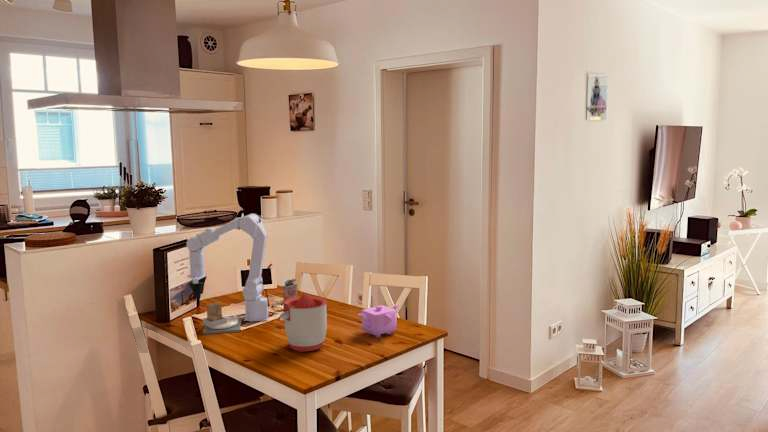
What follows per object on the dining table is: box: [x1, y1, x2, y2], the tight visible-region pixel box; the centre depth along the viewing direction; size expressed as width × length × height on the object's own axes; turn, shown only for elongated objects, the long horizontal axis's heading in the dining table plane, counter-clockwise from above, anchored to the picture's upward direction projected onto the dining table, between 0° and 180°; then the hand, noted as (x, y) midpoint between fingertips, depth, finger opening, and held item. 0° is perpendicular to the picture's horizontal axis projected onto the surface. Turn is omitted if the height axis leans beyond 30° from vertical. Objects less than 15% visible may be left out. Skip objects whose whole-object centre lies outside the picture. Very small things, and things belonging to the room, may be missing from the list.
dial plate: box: [201, 318, 243, 335], centre depth 242 cm, size 14×14×1 cm
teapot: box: [357, 304, 400, 338], centre depth 232 cm, size 15×13×11 cm
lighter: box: [282, 278, 298, 303], centre depth 279 cm, size 8×3×10 cm, turn 143°
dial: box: [202, 316, 239, 329], centre depth 241 cm, size 13×12×3 cm
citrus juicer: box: [279, 293, 328, 353], centre depth 217 cm, size 16×17×20 cm
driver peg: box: [206, 302, 223, 322], centre depth 238 cm, size 4×4×8 cm
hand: (198, 296), depth 254 cm, fingers open, 7 cm apart
